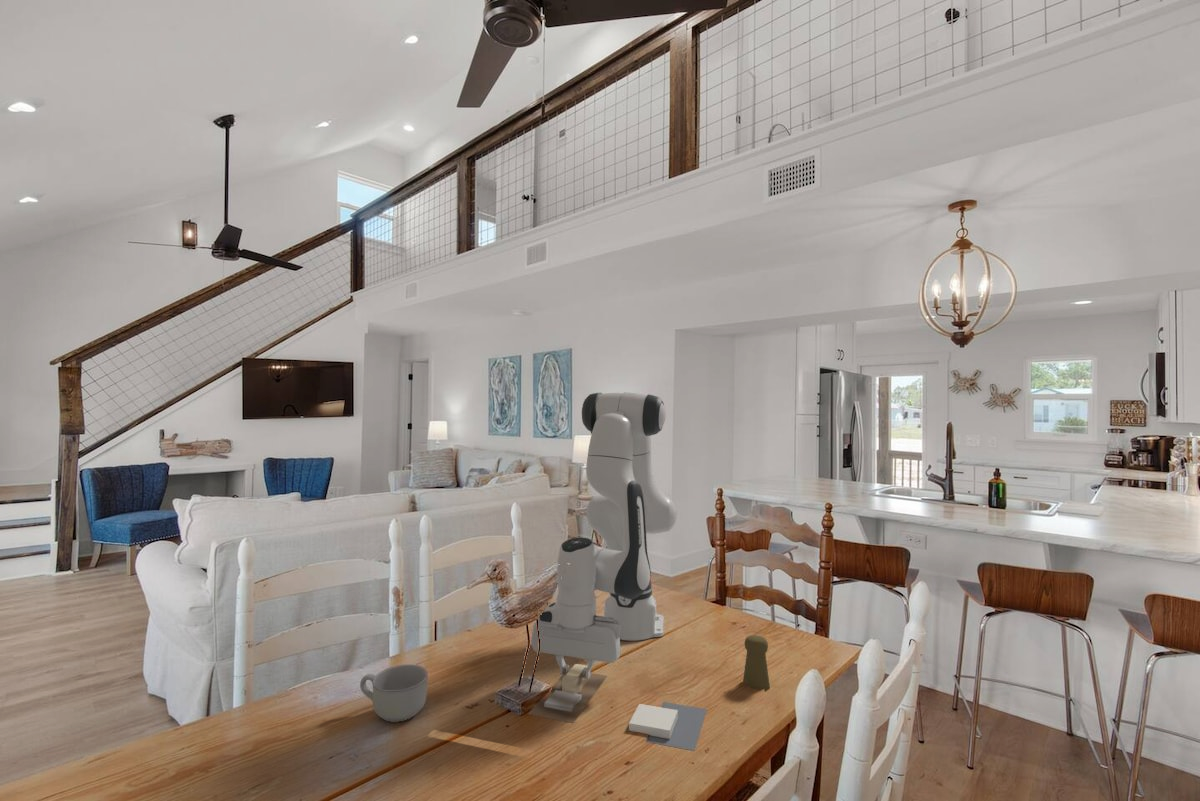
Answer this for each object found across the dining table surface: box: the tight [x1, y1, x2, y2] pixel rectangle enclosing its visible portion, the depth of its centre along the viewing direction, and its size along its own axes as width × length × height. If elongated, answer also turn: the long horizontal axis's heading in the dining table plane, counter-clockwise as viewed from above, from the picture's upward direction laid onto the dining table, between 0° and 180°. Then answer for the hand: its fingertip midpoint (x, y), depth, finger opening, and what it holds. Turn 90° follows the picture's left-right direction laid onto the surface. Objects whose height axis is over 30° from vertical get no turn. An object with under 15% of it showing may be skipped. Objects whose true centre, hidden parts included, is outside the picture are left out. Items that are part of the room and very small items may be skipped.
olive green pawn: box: [742, 634, 771, 692], centre depth 134 cm, size 6×6×11 cm
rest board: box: [527, 672, 608, 724], centre depth 127 cm, size 22×10×1 cm, turn 162°
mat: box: [645, 701, 708, 752], centre depth 117 cm, size 16×18×1 cm
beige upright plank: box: [544, 663, 588, 712], centre depth 127 cm, size 14×6×4 cm, turn 161°
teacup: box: [359, 664, 429, 723], centre depth 120 cm, size 14×11×8 cm
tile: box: [628, 703, 678, 739], centre depth 115 cm, size 2×8×8 cm
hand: (575, 675), depth 130 cm, fingers open, 4 cm apart
